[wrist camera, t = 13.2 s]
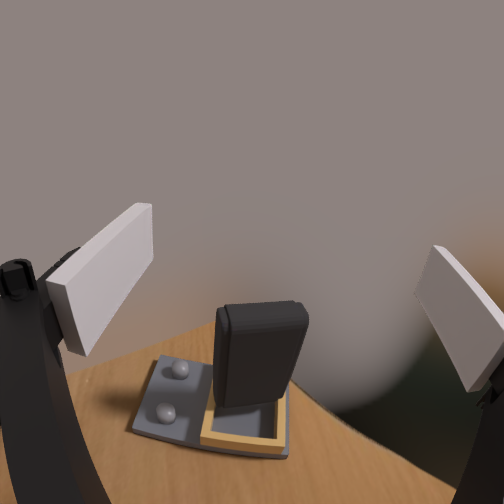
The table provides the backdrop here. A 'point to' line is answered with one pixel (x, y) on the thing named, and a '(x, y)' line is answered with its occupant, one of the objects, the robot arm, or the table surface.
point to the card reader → (256, 351)
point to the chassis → (209, 414)
